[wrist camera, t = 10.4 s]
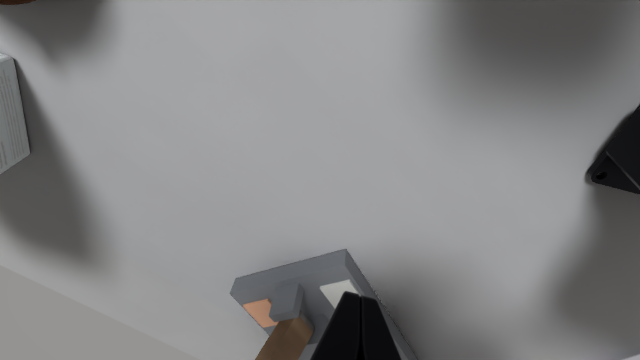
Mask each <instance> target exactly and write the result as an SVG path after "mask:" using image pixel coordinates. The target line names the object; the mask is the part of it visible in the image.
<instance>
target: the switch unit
mask: <svg viewBox="0 0 640 360" xmlns="http://www.w3.org/2000/svg"><path fill="white" fill-rule="evenodd" d="M345 291H349V292H353V293H357V294H359V296H361V295H365V296H369V297H373V298H375V299H376V300H377V301H378V303H379V306H380V308H381V311H382V313H383V315H384V318H385V320H386V323H387V325H388V328H389V330H390V332H391V335H392V337H393V340H394V342H395V344H396V347H397V349H398V352H399V354H400V357H401V359H402V360H418V359H417V358H416V356H415V355H414V353H413V351H412V350H411V348H410V347H409V345H408V344H407V342H406V341H405V339H404V338H403V336H402V334H401V333H400V331H399V330H398V328H397V327H396V325H395V324H394V322H393V321H392V319H391V317H390V316H389V314H388V313H387V311H386V310H385V308H384V307H383V305H382V304H381V302H380V301H379V299H378V297H377V296H376V294H375V293H374V291H373V290H372V288H371V287H370V285H369V284H368V282H367V280H366V279H365V277H364V276H363V274H362V273H361V271H360V270H359V268H358V267H357V265H356V263H355V262H354V260H353V259H352V257H351V256H350V254H349V253H348V251H347V250H346V249H344V250H340V251H336V252H332V253H329V254H325V255H321V256H318V257H314V258H310V259H306V260H303V261H299V262H295V263H292V264H288V265H284V266H280V267H277V268H273V269H269V270H266V271H262V272H258V273H254V274H251V275H247V276H243V277H240V278H236V279H235V282H234V284H233V287H232V289H231V292H230V294H231V296H232V297H233V298H234V299H235V300H236V301H237V302H238V303H239V304H240V305H241V306H242V307H243V308H244V309H245V310H246V311H247V312H248V313H249V315H250V316H251V317H252V318H253V319H254V320H255V321H256V322H257V323H258V324H259V325H260V326H261V327H262V328H263V329H264V330H265V331H266V332H267V334H268V335H269V336H270V335H271V333H272V332H273V330H274V329H275V327H276V325H277V324H278V322H279V321H283V320H288V319H293V318H298V317H299V312H300V310H301V311H302V312H303V313H304V314H305V316H306V317H307V318H308V319H309V321H310V322H311V323H312V324H313V325H314V332H313V334H312V336H311V337H310V339H309V341H308V343H307V344H306V346H305V348H304V350H303V352H302V353H301V355H300V357H299V359H298V360H310V358H311V356H312V354H313V352H314V350H315V348H316V346H317V344H318V342H319V340H320V338H321V336H322V334H323V332H324V330H325V328H326V326H327V324H328V322H329V320H330V318H331V316H332V314H333V312H334V310H335V308H336V306H337V304H338V302H339V300H340V298H341V296H342V294H343V293H344V292H345Z"/></svg>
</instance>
